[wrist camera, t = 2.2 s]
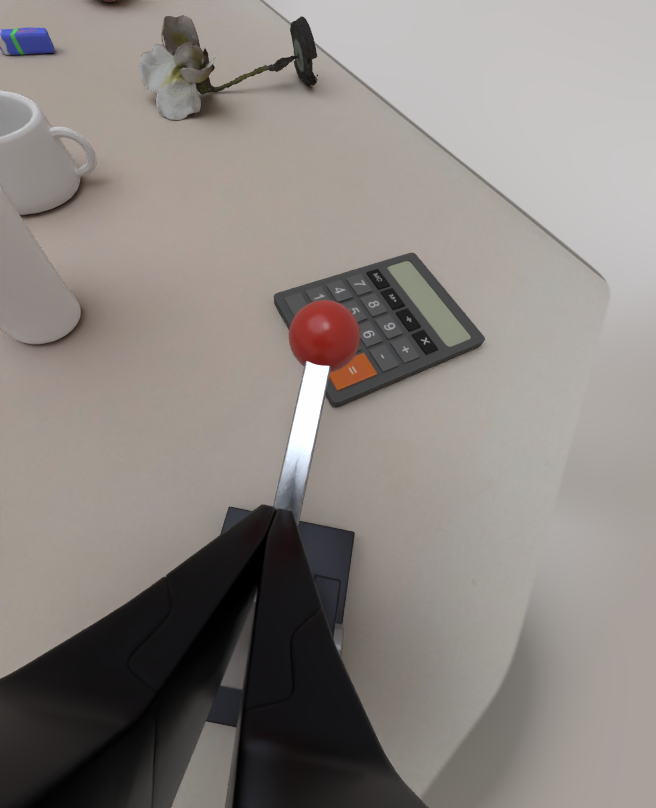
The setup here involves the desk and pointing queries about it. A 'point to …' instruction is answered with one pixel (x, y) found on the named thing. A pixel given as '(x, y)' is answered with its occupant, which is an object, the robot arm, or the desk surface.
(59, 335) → the drinking glass
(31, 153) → the mug
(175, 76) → the artificial flower
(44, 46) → the eraser
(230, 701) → the switch bracket
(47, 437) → the desk surface
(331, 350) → the lever
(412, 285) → the calculator
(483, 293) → the desk surface
